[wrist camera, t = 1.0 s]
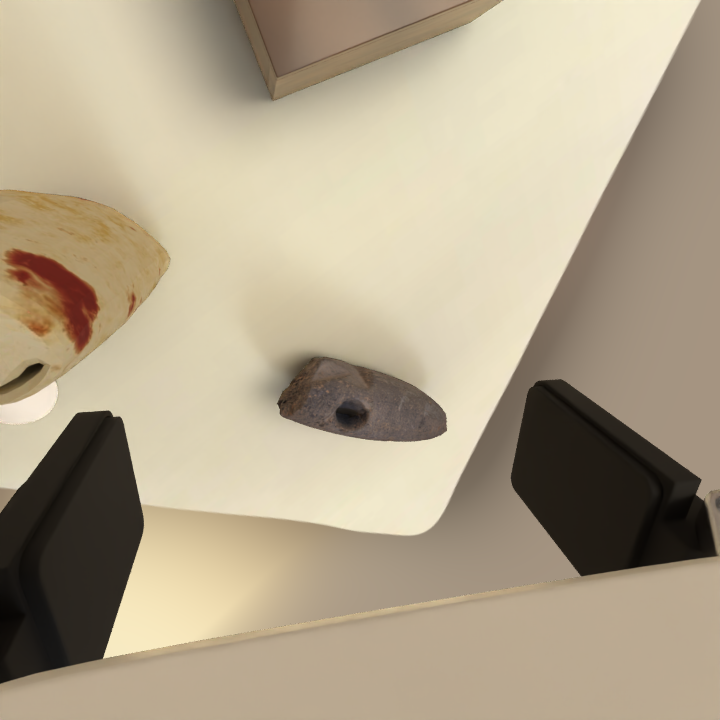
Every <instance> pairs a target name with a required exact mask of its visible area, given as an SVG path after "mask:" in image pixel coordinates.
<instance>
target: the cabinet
mask: <svg viewBox="0 0 720 720" xmlns="http://www.w3.org/2000/svg"><path fill="white" fill-rule="evenodd" d="M501 1H503V0H234V2H235V5H236V7H237V10H238V13H239V15H240V18H241V20H242V23H243V26H244V28H245V31H246V33H247V36H248V38H249V41H250V44H251V46H252V49H253V51H254V54H255V57H256V59H257V62H258V64H259V67H260V69H261V72H262V75H263V77H264V80H265V82H266V85H267V88H268V90H269V93H270V95H271V98H272V100H273V101H274V100H277V99H279V98H282V97H284V96H287V95H289V94H292V93H294V92H297V91H299V90H302V89H304V88H307V87H310V86H312V85H315V84H317V83H320V82H322V81H325V80H327V79H330V78H332V77H335V76H337V75H340V74H342V73H345V72H347V71H350V70H352V69H355V68H357V67H360V66H362V65H365V64H367V63H370V62H372V61H375V60H377V59H380V58H382V57H385V56H387V55H390V54H392V53H395V52H397V51H400V50H402V49H405V48H407V47H410V46H413V45H415V44H418V43H420V42H423V41H425V40H428V39H430V38H433V37H435V36H438V35H440V34H443V33H445V32H448V31H450V30H453V29H455V28H458V27H460V26H463V25H465V24H468V23H470V22H472V21H473V20H475V19H476V18H478V17H479V16H481V15H482V14H484V13H485V12H487V11H488V10H490V9H491V8H493V7H494V6H495V5H497V4H498V3H500V2H501Z"/></svg>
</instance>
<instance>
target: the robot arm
mask: <svg viewBox="0 0 720 720" xmlns="http://www.w3.org/2000/svg"><path fill="white" fill-rule="evenodd" d="M511 482H512V486H513V488H514V490H515V491H516V493H517V494H518V495H519V496H520V498H521V499H522V500H523V501H524V503H525V504H526V505H527V507H528V508H529V509H530V511H531V512H532V513H533V515H534V516H535V517H536V518H537V520H538V521H539V522H540V524H541V525H542V526H543V527H544V529H545V530H546V531H547V533H548V534H549V535H550V537H551V538H552V539H553V540H554V542H555V543H556V544H557V545H558V547H559V548H560V549H561V551H562V552H563V553H564V555H565V556H566V557H567V559H568V560H569V561H570V562H571V564H572V565H573V566H574V567H575V569H576V570H577V571H578V573H579V574H580V575H581V577H575V578H569V579H563V580H557V581H550V582H544V583H538V584H532V585H525V586H519V587H514V588H507V589H501V590H495V591H489V592H483V593H477V594H470V595H464V596H458V597H452V598H447V599H440V600H435V601H429V602H422V603H416V604H411V605H405V606H399V607H392V608H386V609H380V610H374V611H369V612H362V613H357V614H351V615H345V616H339V617H333V618H328V619H322V620H316V621H310V622H304V623H298V624H293V625H287V626H281V627H275V628H270V629H264V630H258V631H252V632H247V633H241V634H235V635H229V636H224V637H217V638H211V639H206V640H200V641H195V642H190V643H184V644H179V645H174V646H168V647H163V648H157V649H152V650H147V651H141V652H136V653H131V654H126V655H120V656H115V657H110V658H105V659H103V657H104V653H105V650H106V647H107V644H108V641H109V638H110V634H111V632H112V628H113V625H114V622H115V619H116V615H117V613H118V609H119V606H120V603H121V600H122V597H123V594H124V590H125V588H126V585H127V581H128V578H129V575H130V572H131V569H132V565H133V563H134V560H135V556H136V553H137V550H138V547H139V544H140V541H141V537H142V534H143V528H144V519H143V513H142V508H141V503H140V499H139V494H138V489H137V485H136V480H135V475H134V471H133V466H132V461H131V456H130V452H129V447H128V442H127V438H126V433H125V428H124V424H123V420H122V418H121V417H113V415H112V413H111V412H110V411H95V412H80V413H77V414H76V415H75V416H74V417H73V419H72V420H71V421H70V423H69V424H68V425H67V427H66V428H65V430H64V431H63V432H62V434H61V435H60V436H59V438H58V439H57V440H56V442H55V443H54V444H53V446H52V447H51V448H50V450H49V451H48V453H47V454H46V455H45V457H44V458H43V459H42V461H41V462H40V463H39V465H38V466H37V467H36V469H35V470H34V472H33V473H32V474H31V476H30V477H29V478H28V480H27V481H26V482H25V483H24V484H23V485H22V486H21V487H20V488H19V489H18V490H17V491H16V493H15V494H14V495H13V497H12V498H11V500H10V501H9V502H8V504H7V505H6V506H5V508H4V509H3V510H2V512H1V513H0V720H720V489H719V490H714V491H711V492H709V493H708V494H707V495H706V496H705V498H704V501H703V500H702V499H700V498H699V497H698V496H696V492H697V490H698V487H699V485H700V483H701V479H700V478H698V477H697V476H696V475H694V474H693V473H691V472H690V471H689V470H687V469H686V468H685V467H683V466H682V465H680V464H679V463H678V462H676V461H675V460H673V459H672V458H671V457H669V456H668V455H667V454H665V453H664V452H662V451H661V450H660V449H658V448H657V447H655V446H654V445H653V444H651V443H650V442H648V441H647V440H646V439H644V438H643V437H641V436H640V435H639V434H637V433H636V432H635V431H633V430H632V429H630V428H629V427H628V426H626V425H625V424H624V423H622V422H621V421H619V420H618V419H616V418H615V417H614V416H612V415H611V414H610V413H608V412H607V411H605V410H604V409H603V408H601V407H600V406H599V405H597V404H596V403H594V402H593V401H592V400H590V399H589V398H587V397H586V396H585V395H583V394H582V393H580V392H579V391H578V390H576V389H575V388H573V387H572V386H571V385H569V384H568V383H567V382H565V381H563V380H561V379H559V380H544V381H538V382H536V383H535V385H534V386H533V387H531V388H530V389H529V391H528V394H527V398H526V403H525V409H524V413H523V419H522V423H521V428H520V433H519V438H518V443H517V448H516V453H515V459H514V463H513V468H512V473H511Z"/></svg>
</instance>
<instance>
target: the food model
mask: <svg viewBox="0 0 720 720" xmlns="http://www.w3.org/2000/svg"><path fill="white" fill-rule="evenodd" d="M169 262H170V257H169V255H168V253H167V251H166V250H165V249H164V248H163V247H162V246H161V245H160V244H159V243H158V242H157V241H156V240H155V239H154V238H153V237H152V236H151V235H150V234H148V233H147V232H146V231H145V230H143V229H142V228H141V227H140V226H139V225H137V224H136V223H135V222H134V221H132V220H130V219H129V218H127V217H126V216H124V215H122V214H121V213H119V212H117V211H116V210H115V209H113V208H110V207H107V206H105V205H102V204H99V203H97V202H93V201H89V200H86V199H82V198H78V197H71V196H61V195H52V194H43V193H34V192H26V191H17V190H0V405H5V404H10V403H15V402H18V401H21V400H23V399H25V398H27V397H30V396H32V395H34V394H36V393H38V392H39V391H41V390H42V389H44V388H45V387H47V386H48V385H50V384H51V383H53V382H54V381H55V380H57V379H58V378H60V377H61V376H62V375H64V374H65V373H67V372H68V371H69V370H70V369H72V368H73V367H74V366H75V365H77V364H78V363H79V362H80V361H81V360H83V359H84V358H85V357H86V356H87V355H89V354H90V353H91V352H92V351H93V350H95V349H96V348H97V347H98V346H100V345H101V344H102V343H103V342H104V341H105V340H107V339H108V338H109V337H110V336H111V335H112V334H113V333H114V332H115V331H116V330H118V329H119V328H120V327H121V326H122V325H123V324H125V323H126V322H127V320H128V319H129V318H130V317H131V316H132V315H133V313H134V312H135V311H136V309H137V308H138V307H139V306H140V305H141V304H142V303H143V302H144V301H145V300H146V298H147V297H148V296H149V295H150V293H151V292H152V291H153V289H154V288H155V286H156V285H157V283H158V281H159V279H160V278H161V277H162V275H163V274H164V273H165V271H166V270H167V269H168V267H169Z"/></svg>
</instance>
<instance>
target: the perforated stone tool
mask: <svg viewBox="0 0 720 720" xmlns="http://www.w3.org/2000/svg"><path fill="white" fill-rule="evenodd" d="M277 404H278V406H279V409H280V415H281V416H283V417H284V418H287V419H290V420H293V421H295V422H298V423H300V424H303V425H306V426H309V427H313V428H316V429H320V430H323V431H327V432H331V433H335V434H340V435H344V436H349V437H355V438H361V439H368V440H377V441H399V442H400V441H402V442H403V441H404V442H406V441H408V442H409V441H421V440H428V439H432V438H435V437H437V436H439V435H440V436H441V435H442V434H443V433H444V432H446V431H447V427H446V426H447V425H446V422H447V421H446V419H447V418H446V414H445V412H444V411H443V409H442V408H441V407H440V406H439V405H438V404H437V403H436V402H435V401H434V400H433V399H432V398H430V397H429V396H428V395H426V394H425V393H424V392H422V391H421V390H419V389H418V388H416V387H415V386H413V385H411V384H408V383H406V382H404V381H402V380H399V379H397V378H394V377H391V376H388V375H386V374H383V373H380V372H376V371H373V370H371V369H367V368H364V367H359V366H353V365H349V364H348V363H346V362H344V361H341V360H336V359H332V358H327V357H322V358H313V359H312V360H311V361H310V362H309V363H308V364H307V365H306V366H305V367H304V369H303V370H301V371H300V373H299V374H298V375H297V376H296V377H295V378H294V379H293V380H292V381H291V383H290V385H289V386H288V388H287V389H285V390H284V391H283V392H282V394H281V396H280V398H279V401H278V403H277Z"/></svg>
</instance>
